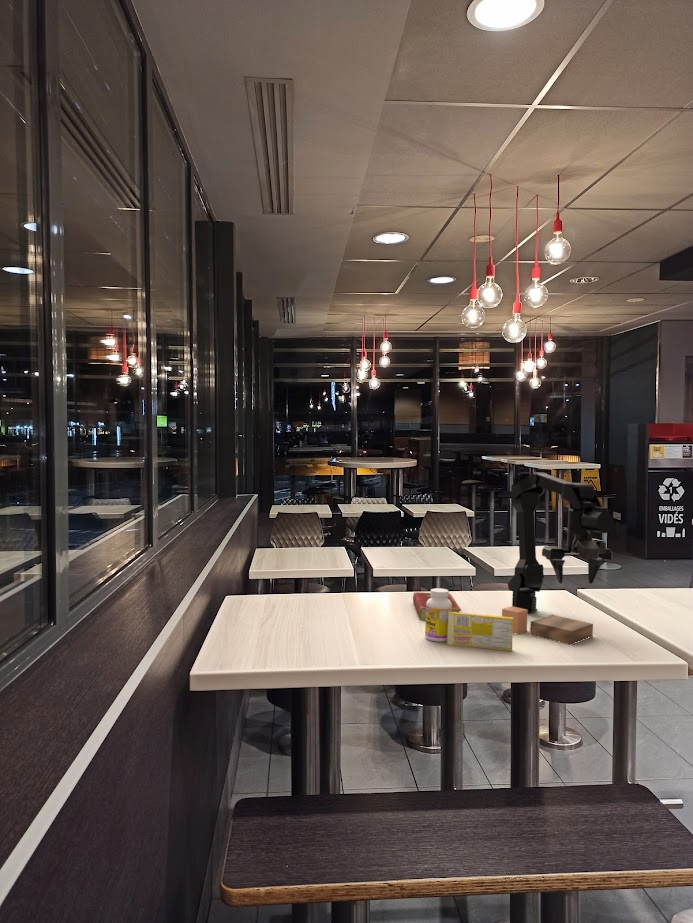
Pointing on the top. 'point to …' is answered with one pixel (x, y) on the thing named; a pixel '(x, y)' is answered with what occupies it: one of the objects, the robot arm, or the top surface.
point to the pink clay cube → (517, 618)
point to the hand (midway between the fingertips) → (575, 583)
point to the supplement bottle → (437, 615)
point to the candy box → (480, 631)
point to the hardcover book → (421, 601)
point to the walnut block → (561, 629)
